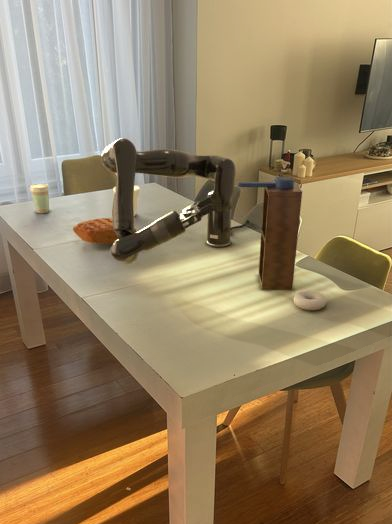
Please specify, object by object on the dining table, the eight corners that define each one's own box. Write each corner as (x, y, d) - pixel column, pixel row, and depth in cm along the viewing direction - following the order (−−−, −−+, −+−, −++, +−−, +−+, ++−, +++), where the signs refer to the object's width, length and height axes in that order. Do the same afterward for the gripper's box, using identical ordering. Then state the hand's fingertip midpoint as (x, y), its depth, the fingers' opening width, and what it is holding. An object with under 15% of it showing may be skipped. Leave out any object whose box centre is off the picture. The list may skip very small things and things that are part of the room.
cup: (127, 210, 256) (125, 183, 250) (146, 214, 250) (145, 187, 244) (109, 216, 248) (107, 188, 242) (129, 220, 242) (127, 192, 236)
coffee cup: (49, 214, 250) (46, 187, 244) (31, 214, 250) (27, 187, 244) (54, 209, 257) (50, 183, 251) (36, 208, 258) (32, 183, 251)
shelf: (261, 289, 178) (268, 191, 162) (258, 275, 188) (264, 181, 172) (292, 289, 178) (302, 191, 162) (287, 275, 188) (296, 182, 172)
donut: (287, 307, 166) (318, 315, 162) (288, 297, 165) (319, 304, 160) (300, 296, 174) (330, 302, 169) (301, 286, 172) (331, 292, 167)
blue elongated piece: (238, 188, 164) (238, 180, 163) (236, 184, 169) (237, 175, 168) (295, 189, 164) (295, 180, 163) (292, 184, 169) (292, 176, 168)
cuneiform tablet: (89, 253, 206) (87, 232, 202) (72, 240, 219) (69, 221, 215) (140, 242, 217) (139, 223, 213) (121, 231, 229) (120, 212, 225)
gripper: (160, 224, 166) (206, 198, 162) (162, 211, 178) (206, 186, 174) (172, 245, 169) (218, 220, 165) (174, 230, 181) (217, 207, 177)
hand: (212, 203), depth 169 cm, fingers open, 8 cm apart
